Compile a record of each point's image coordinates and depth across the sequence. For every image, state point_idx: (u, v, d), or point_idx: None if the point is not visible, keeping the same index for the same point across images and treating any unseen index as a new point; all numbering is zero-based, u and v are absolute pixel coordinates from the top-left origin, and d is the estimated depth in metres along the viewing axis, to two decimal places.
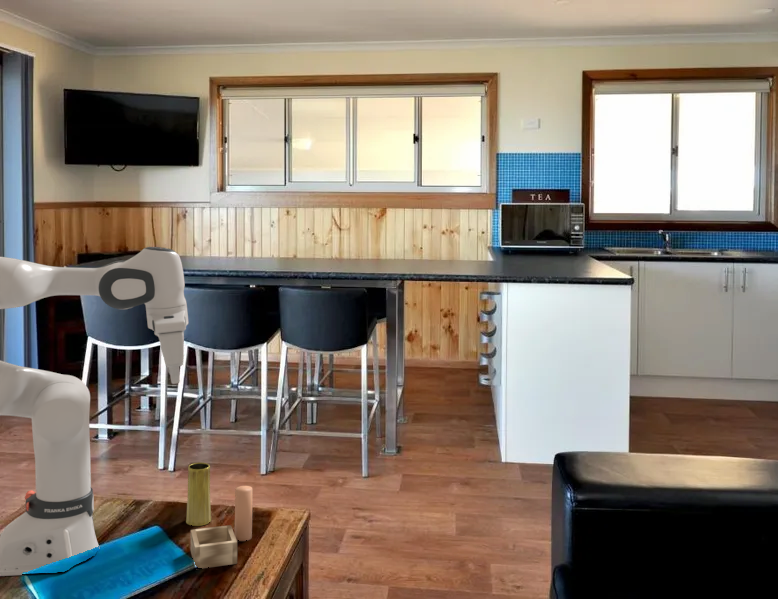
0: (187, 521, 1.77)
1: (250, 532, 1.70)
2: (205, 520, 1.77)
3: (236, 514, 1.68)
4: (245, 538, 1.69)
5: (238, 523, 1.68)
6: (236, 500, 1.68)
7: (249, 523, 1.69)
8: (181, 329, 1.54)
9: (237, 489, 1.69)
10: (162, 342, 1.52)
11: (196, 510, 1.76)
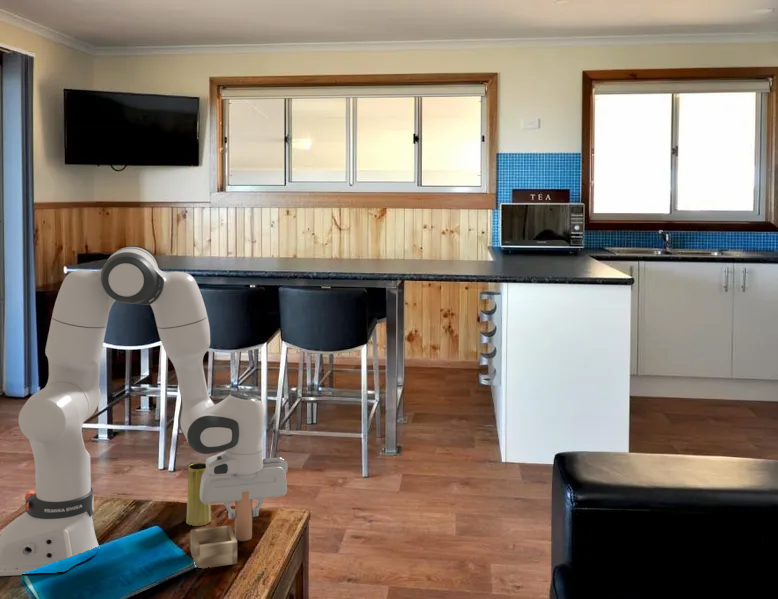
0: (187, 521, 1.77)
1: (250, 532, 1.70)
2: (205, 520, 1.77)
3: (236, 514, 1.68)
4: (245, 538, 1.69)
5: (238, 523, 1.68)
6: None
7: (249, 523, 1.69)
8: (208, 472, 1.64)
9: None
10: (202, 475, 1.67)
11: (196, 510, 1.76)
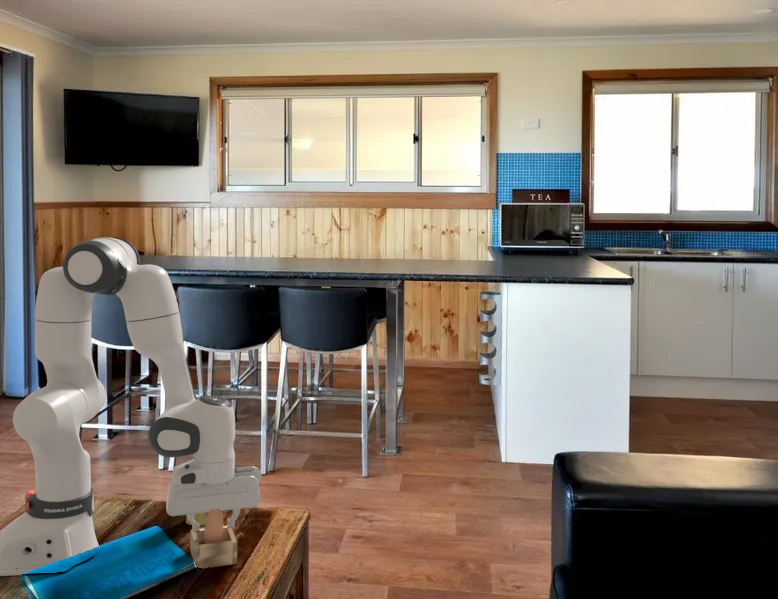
0: (187, 521, 1.77)
1: None
2: None
3: (206, 532, 1.58)
4: None
5: (208, 542, 1.58)
6: (205, 518, 1.58)
7: None
8: (175, 482, 1.53)
9: None
10: None
11: None
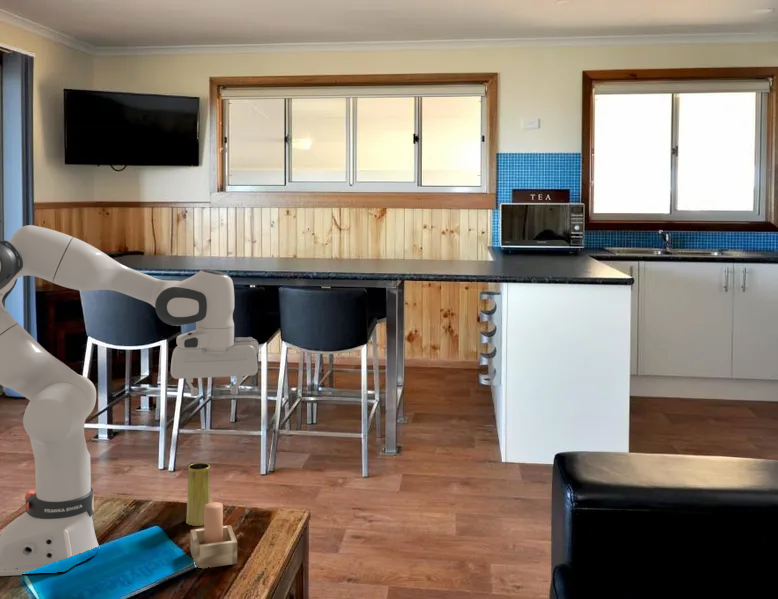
0: (187, 521, 1.77)
1: None
2: None
3: (206, 532, 1.58)
4: None
5: (208, 542, 1.58)
6: (205, 518, 1.58)
7: None
8: (178, 346, 1.66)
9: (206, 506, 1.59)
10: (173, 352, 1.69)
11: (196, 510, 1.76)
